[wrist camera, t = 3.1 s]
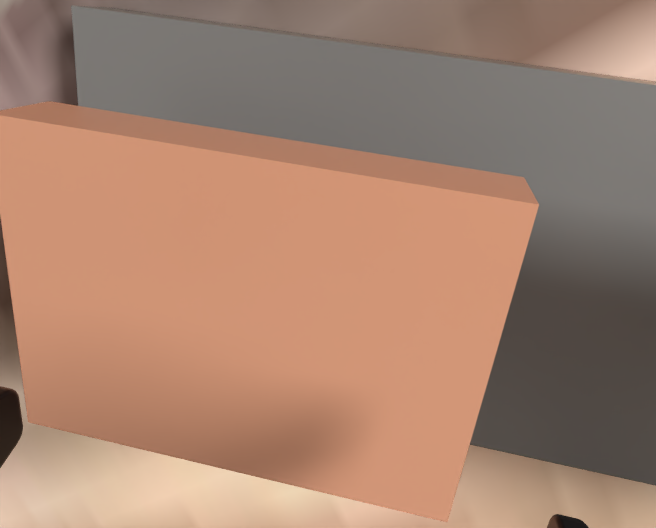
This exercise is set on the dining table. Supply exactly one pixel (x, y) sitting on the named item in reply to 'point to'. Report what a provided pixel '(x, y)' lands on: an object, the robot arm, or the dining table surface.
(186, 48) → the key panel
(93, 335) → the terracotta key
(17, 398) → the robot arm
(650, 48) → the dining table surface
